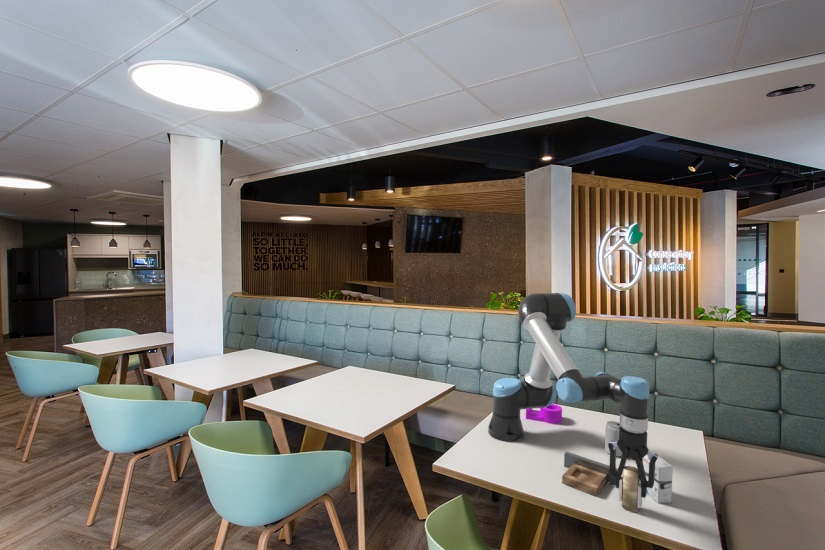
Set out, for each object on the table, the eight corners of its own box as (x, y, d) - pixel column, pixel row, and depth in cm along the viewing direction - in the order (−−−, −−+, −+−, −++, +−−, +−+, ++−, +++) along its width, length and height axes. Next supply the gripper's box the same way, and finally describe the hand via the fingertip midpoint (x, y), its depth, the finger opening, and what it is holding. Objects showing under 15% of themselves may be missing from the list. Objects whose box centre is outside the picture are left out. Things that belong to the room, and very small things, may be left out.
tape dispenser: (562, 417, 189) (562, 405, 189) (561, 425, 180) (561, 412, 180) (527, 412, 195) (528, 400, 195) (525, 420, 186) (525, 407, 186)
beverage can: (625, 458, 151) (626, 428, 150) (607, 456, 152) (608, 426, 151) (620, 450, 157) (621, 421, 156) (602, 448, 158) (603, 419, 158)
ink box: (639, 487, 132) (640, 453, 131) (653, 487, 132) (654, 453, 131) (657, 503, 123) (658, 467, 123) (672, 502, 123) (673, 466, 123)
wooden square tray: (562, 482, 133) (562, 475, 133) (573, 469, 142) (573, 463, 141) (596, 496, 126) (596, 488, 126) (606, 481, 134) (606, 474, 134)
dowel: (620, 507, 121) (621, 469, 120) (623, 501, 124) (625, 464, 123) (636, 514, 118) (638, 475, 117) (639, 507, 121) (641, 469, 120)
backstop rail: (564, 466, 144) (564, 453, 144) (566, 464, 146) (566, 451, 145) (617, 485, 132) (617, 471, 132) (618, 483, 134) (619, 469, 134)
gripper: (599, 424, 123) (596, 496, 124) (664, 442, 111) (661, 521, 112) (606, 416, 128) (603, 485, 129) (669, 433, 117) (665, 508, 118)
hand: (630, 502), depth 121 cm, fingers closed on dowel, 4 cm apart
